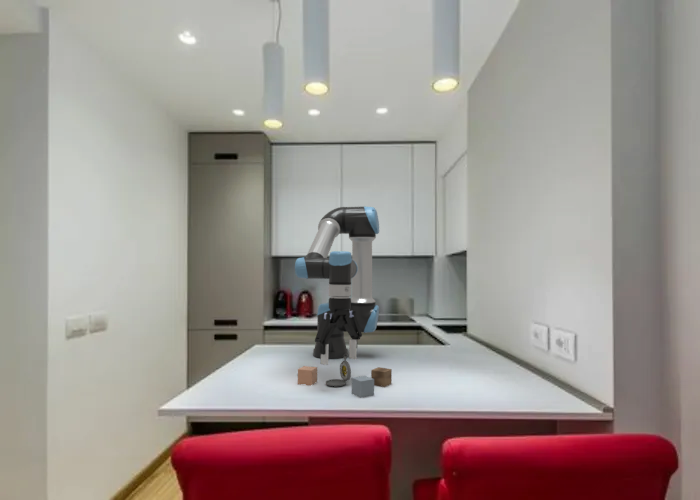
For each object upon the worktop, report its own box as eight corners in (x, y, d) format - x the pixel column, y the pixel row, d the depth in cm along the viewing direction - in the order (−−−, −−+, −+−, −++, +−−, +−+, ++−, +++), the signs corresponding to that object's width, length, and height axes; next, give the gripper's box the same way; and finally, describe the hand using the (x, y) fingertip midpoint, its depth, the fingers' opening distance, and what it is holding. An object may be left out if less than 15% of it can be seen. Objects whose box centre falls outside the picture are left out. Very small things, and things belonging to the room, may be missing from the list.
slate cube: (351, 393, 140) (351, 377, 140) (364, 391, 142) (365, 375, 142) (360, 398, 135) (360, 381, 136) (374, 395, 138) (374, 379, 138)
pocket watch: (322, 385, 148) (322, 355, 148) (334, 380, 155) (335, 350, 156) (343, 389, 144) (344, 357, 144) (355, 383, 152) (356, 353, 152)
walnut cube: (371, 385, 150) (371, 370, 150) (378, 381, 154) (378, 367, 154) (384, 387, 147) (384, 372, 147) (391, 384, 151) (391, 369, 151)
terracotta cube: (297, 384, 150) (297, 369, 150) (303, 380, 155) (303, 366, 155) (311, 385, 148) (311, 370, 148) (317, 382, 153) (317, 367, 153)
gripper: (320, 299, 139) (319, 368, 138) (372, 296, 157) (371, 357, 156) (304, 298, 144) (303, 365, 143) (356, 295, 162) (355, 354, 161)
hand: (339, 361), depth 150 cm, fingers open, 13 cm apart
